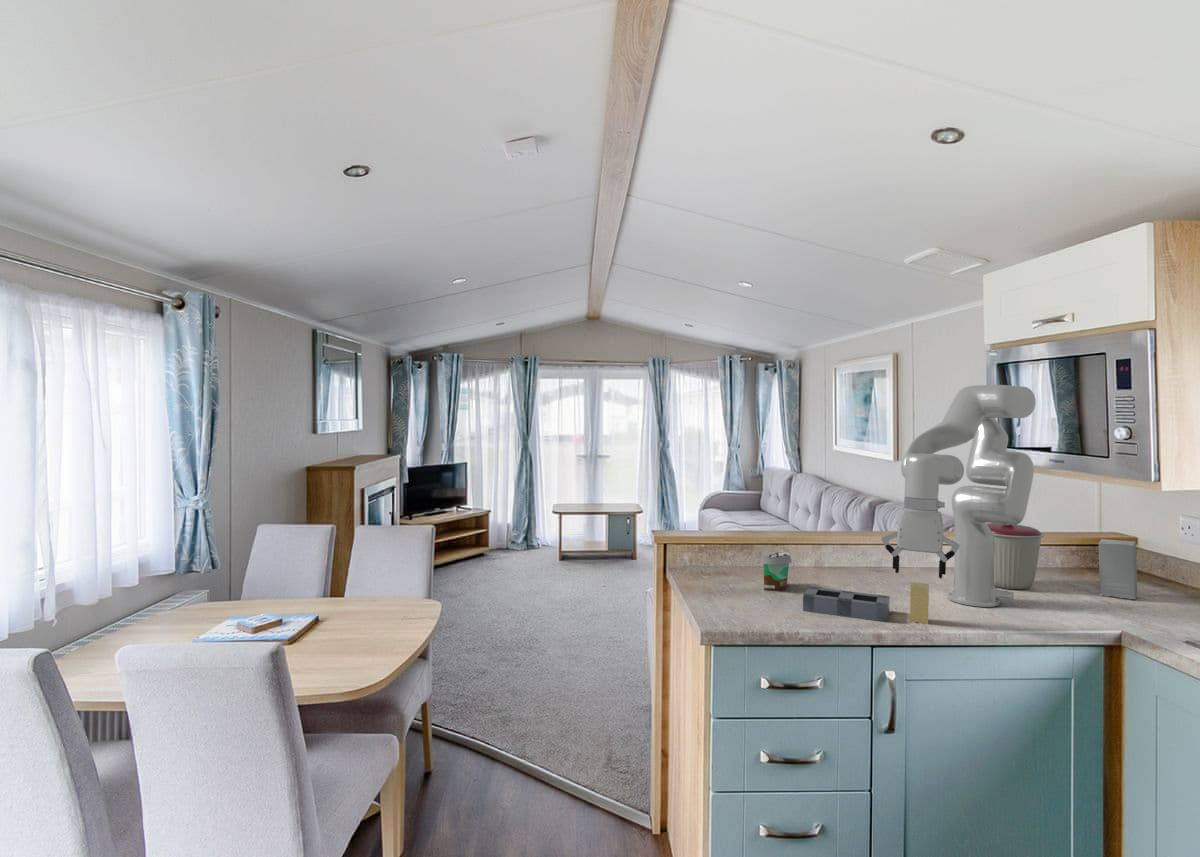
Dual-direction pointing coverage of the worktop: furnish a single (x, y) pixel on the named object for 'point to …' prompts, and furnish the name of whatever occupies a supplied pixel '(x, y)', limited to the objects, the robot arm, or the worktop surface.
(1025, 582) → the canister
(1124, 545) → the skincare box
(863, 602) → the grey peg board
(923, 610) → the brass peg
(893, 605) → the worktop surface
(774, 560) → the food container
